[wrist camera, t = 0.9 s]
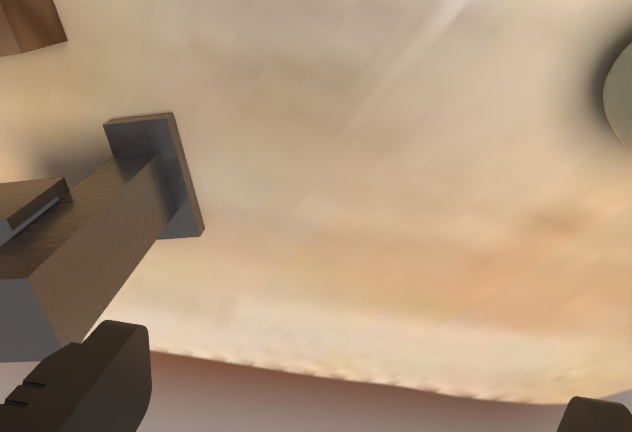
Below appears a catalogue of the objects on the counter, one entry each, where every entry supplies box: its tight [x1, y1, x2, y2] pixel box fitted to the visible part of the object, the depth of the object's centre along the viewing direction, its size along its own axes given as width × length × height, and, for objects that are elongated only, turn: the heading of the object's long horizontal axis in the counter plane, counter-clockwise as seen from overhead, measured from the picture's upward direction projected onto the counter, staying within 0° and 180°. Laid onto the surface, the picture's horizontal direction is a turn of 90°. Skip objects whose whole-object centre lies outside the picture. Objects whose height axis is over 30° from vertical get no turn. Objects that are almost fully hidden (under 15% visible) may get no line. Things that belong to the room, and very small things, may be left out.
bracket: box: [0, 113, 205, 362], centre depth 25 cm, size 8×10×14 cm
